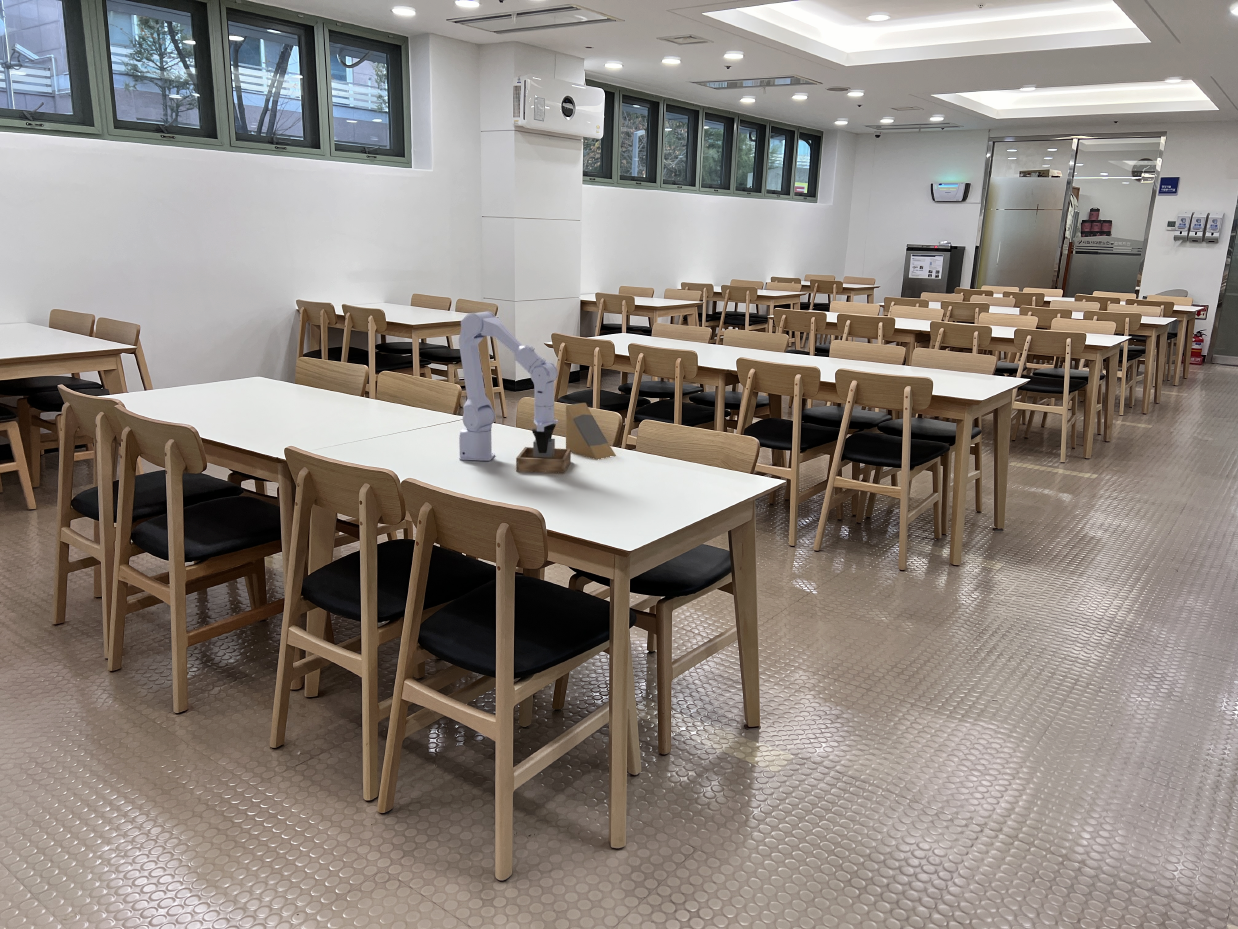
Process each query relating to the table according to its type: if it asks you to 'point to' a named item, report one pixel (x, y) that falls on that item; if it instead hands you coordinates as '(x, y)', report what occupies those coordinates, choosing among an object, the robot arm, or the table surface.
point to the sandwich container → (585, 433)
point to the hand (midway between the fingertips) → (544, 450)
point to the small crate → (549, 452)
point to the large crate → (543, 461)
